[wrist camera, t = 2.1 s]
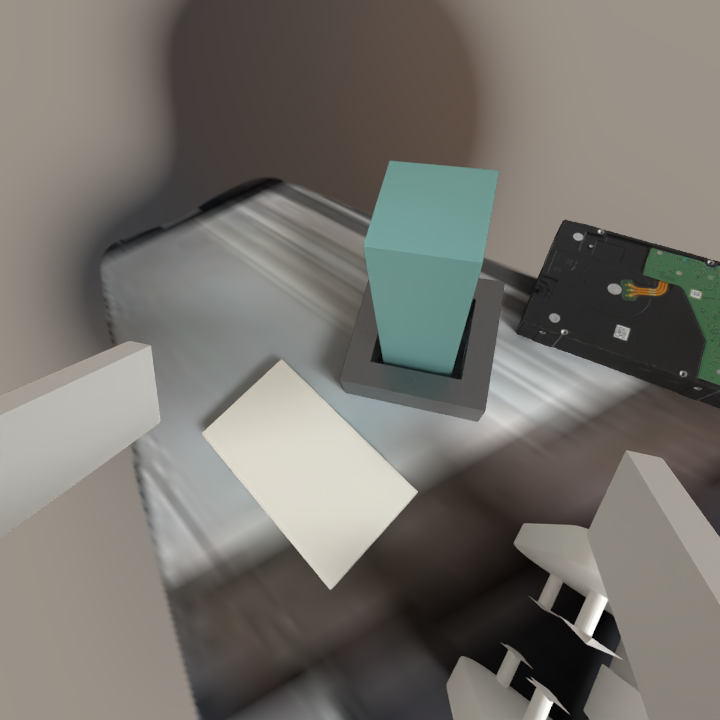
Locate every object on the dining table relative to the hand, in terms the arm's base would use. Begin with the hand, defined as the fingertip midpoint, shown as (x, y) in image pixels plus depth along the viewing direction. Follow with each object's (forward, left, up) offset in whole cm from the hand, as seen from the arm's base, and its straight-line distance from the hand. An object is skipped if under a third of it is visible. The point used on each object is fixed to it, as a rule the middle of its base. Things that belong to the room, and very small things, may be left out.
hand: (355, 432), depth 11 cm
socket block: (+5, -9, -18) cm, 21 cm away
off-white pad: (+5, +3, -18) cm, 19 cm away
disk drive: (-5, -22, -19) cm, 29 cm away
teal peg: (+5, -9, -18) cm, 21 cm away
